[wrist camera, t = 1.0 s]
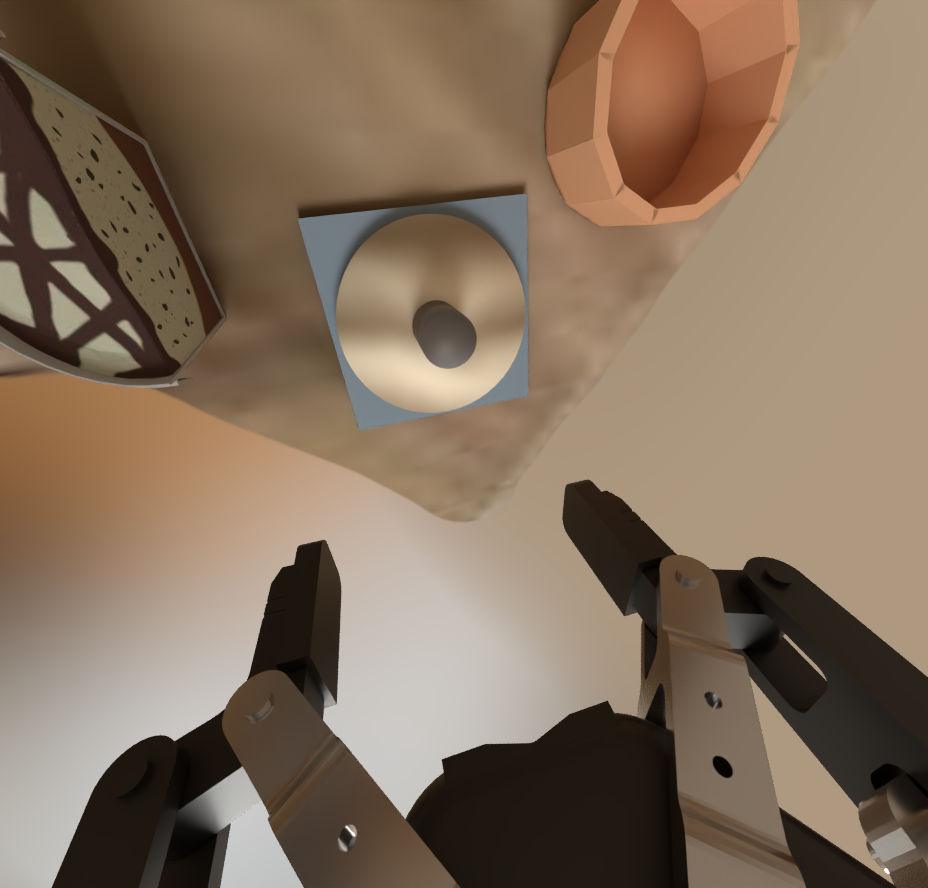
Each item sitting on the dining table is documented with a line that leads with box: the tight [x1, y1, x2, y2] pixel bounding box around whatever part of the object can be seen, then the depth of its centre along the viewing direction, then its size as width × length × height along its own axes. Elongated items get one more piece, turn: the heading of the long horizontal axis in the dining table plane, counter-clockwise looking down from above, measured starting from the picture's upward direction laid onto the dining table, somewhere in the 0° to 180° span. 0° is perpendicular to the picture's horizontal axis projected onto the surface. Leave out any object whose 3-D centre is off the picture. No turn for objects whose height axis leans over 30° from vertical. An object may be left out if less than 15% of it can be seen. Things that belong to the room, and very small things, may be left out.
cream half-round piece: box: [0, 30, 227, 388], centre depth 17 cm, size 12×6×10 cm, turn 6°
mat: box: [298, 194, 528, 431], centre depth 27 cm, size 15×15×1 cm
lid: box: [336, 214, 526, 413], centre depth 25 cm, size 14×14×5 cm
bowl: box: [544, 0, 800, 226], centre depth 22 cm, size 12×12×6 cm
